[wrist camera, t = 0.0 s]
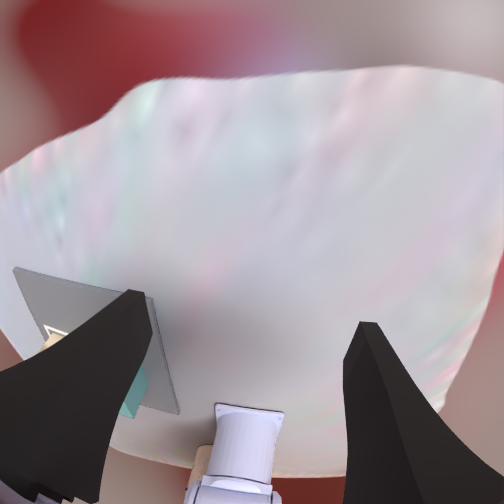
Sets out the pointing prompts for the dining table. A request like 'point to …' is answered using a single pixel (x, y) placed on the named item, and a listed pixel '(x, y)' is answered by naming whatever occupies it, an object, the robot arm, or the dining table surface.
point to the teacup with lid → (200, 463)
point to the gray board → (82, 309)
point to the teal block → (134, 395)
